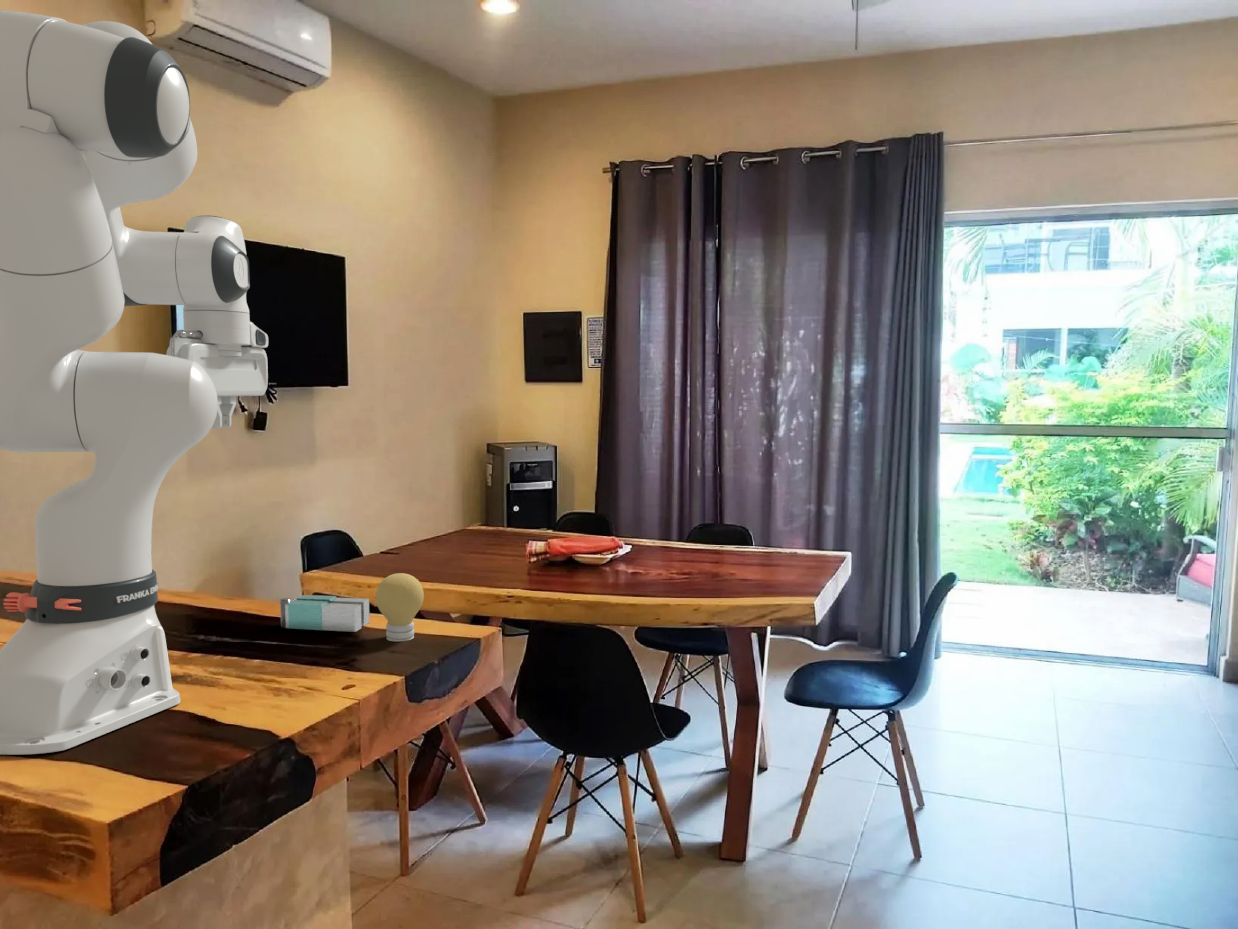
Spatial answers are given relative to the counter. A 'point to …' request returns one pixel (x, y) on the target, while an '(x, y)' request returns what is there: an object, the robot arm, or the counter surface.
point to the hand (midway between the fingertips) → (220, 428)
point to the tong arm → (333, 599)
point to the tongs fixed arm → (320, 615)
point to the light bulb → (399, 604)
